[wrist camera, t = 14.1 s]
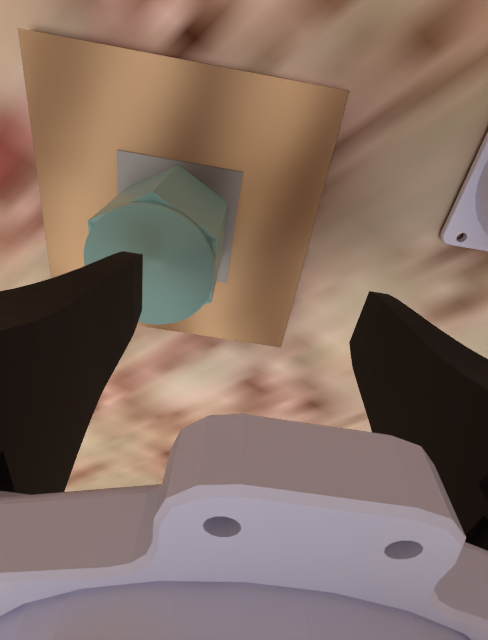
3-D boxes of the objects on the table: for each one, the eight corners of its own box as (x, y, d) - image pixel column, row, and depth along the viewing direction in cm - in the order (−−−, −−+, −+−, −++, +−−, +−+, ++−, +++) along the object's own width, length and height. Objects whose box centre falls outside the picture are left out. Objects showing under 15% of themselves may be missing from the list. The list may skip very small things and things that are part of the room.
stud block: (344, 90, 17) (371, 95, 13) (280, 336, 25) (283, 391, 21) (32, 30, 17) (-50, 15, 12) (64, 303, 24) (20, 353, 20)
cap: (196, 288, 22) (177, 347, 17) (104, 227, 20) (54, 275, 15) (250, 218, 19) (247, 265, 15) (152, 143, 18) (112, 168, 13)
